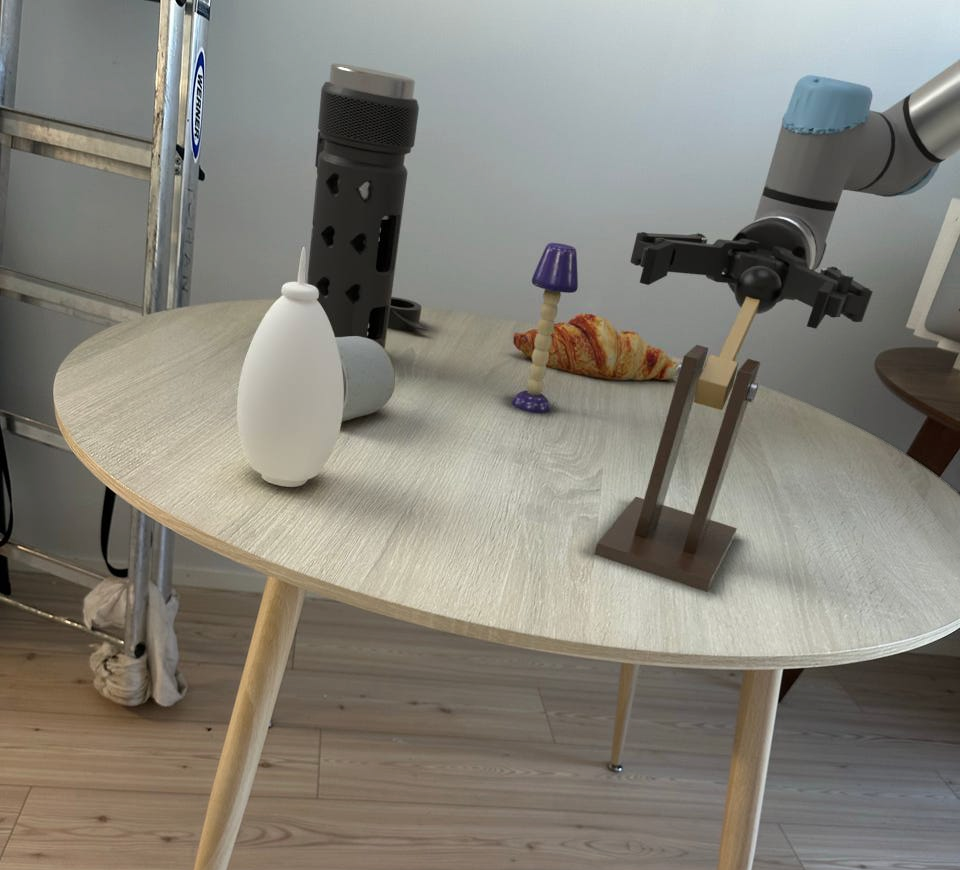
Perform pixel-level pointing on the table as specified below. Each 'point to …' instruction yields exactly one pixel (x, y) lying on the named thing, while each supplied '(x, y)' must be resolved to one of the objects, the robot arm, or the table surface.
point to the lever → (737, 334)
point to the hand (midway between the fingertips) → (730, 287)
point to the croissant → (600, 351)
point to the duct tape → (404, 315)
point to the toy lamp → (547, 318)
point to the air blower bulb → (291, 388)
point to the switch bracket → (647, 522)
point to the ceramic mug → (364, 376)
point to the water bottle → (360, 196)
